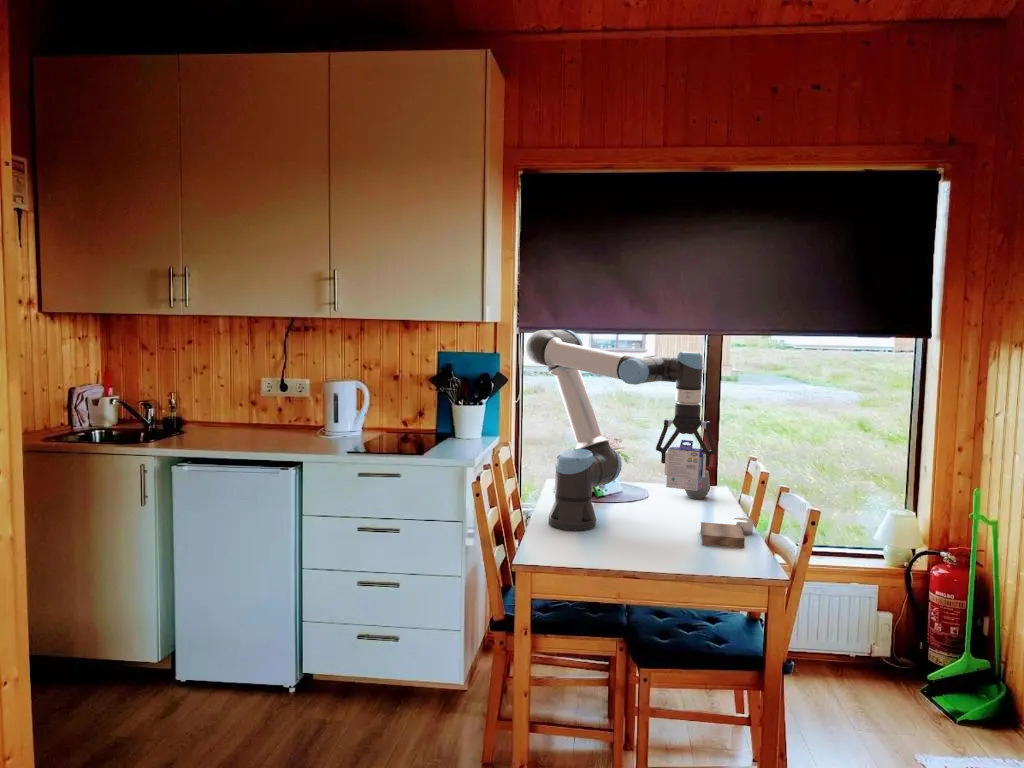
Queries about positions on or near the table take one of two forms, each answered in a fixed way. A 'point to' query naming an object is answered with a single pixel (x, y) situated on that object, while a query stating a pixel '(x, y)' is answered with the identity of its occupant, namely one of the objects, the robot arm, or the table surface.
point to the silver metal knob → (744, 525)
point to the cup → (704, 490)
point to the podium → (722, 535)
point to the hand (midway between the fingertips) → (684, 475)
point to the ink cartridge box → (685, 467)
